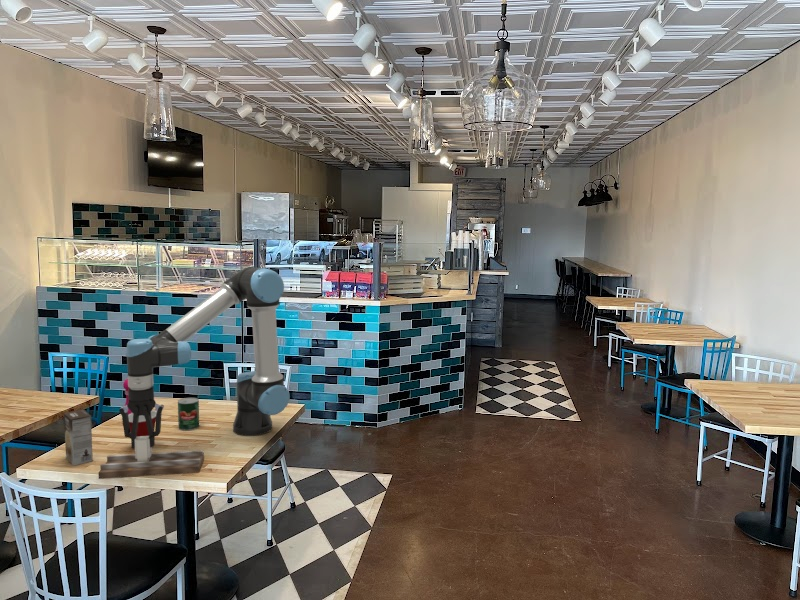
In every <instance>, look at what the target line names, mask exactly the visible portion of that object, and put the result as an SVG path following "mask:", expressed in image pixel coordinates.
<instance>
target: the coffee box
mask: <svg viewBox="0 0 800 600" xmlns="http://www.w3.org/2000/svg"><path fill="white" fill-rule="evenodd" d="M63 424H64V425H63V426H64V441H65V442H64V443H65V445H64V446H65V458H66V459H67V460H68V461H69V463H70V464H71V465H72V466H77V465H82V464H85V463H90V462H93V460H94V458H93V435H92V434H93V433H92V432H93V431H92V430H93V429H92V415H91V414H89V412H88V411H86V410H85V409H84V408H82V409H78V410H72V411H67V412H63Z"/></svg>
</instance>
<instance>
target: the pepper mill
mask: <svg viewBox="0 0 800 600" xmlns="http://www.w3.org/2000/svg"><path fill="white" fill-rule="evenodd" d="M122 387H123V389H124V395H126V396H125V404H124V406H126V405H127V404H128V402H129V397H128V389H129V387H128V378H126V379H125V380H124V381H123V383H122ZM131 413H132V412H131V411H130V409H129V408H128V415H129V414H131Z"/></svg>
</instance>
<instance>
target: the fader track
mask: <svg viewBox="0 0 800 600" xmlns="http://www.w3.org/2000/svg"><path fill="white" fill-rule="evenodd" d="M204 453H205V452H204V450H189V451H171V452H170V451H169V452H152V455H151V457H150V460H149V461H147V462H137V459H135V453H131V454H130V453H129V454H115V455H114V454H113V455H107V457H106V462H105V463H101V464H100V465H99V467H100V470H99V472H98V479H100V480H101V479H111V478H112V479H113V478H130V477H132V478H134V477H147V476H160V475H162V476H163V475H179V474H180V475H181V474H194V473H200V470H201V468H202V465H203V462H204V459H205V454H204Z"/></svg>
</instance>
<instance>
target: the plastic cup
mask: <svg viewBox="0 0 800 600" xmlns="http://www.w3.org/2000/svg"><path fill="white" fill-rule="evenodd" d="M156 413H157V411H155V410H154V409H152V411H151V418H152V423H153V428H154V429H155V426H156ZM128 418H129V425H130V432H131V431H132V424H133V413H131V414H129V415H128ZM138 436H149V434H148V429H147V424H146V419H145V417H144V416H143V415H140V416H139V420H138V428H137V435H136V437H138Z"/></svg>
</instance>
